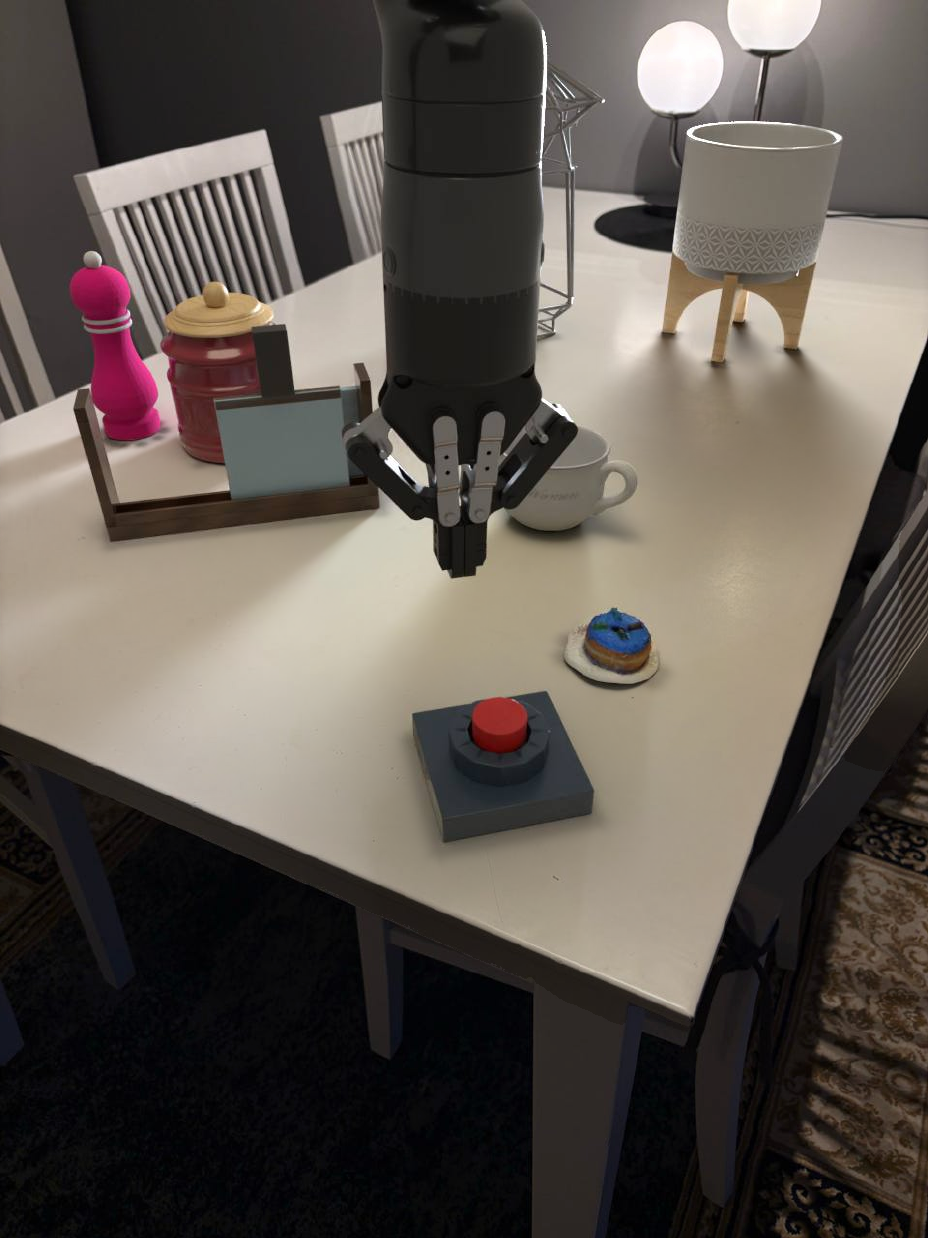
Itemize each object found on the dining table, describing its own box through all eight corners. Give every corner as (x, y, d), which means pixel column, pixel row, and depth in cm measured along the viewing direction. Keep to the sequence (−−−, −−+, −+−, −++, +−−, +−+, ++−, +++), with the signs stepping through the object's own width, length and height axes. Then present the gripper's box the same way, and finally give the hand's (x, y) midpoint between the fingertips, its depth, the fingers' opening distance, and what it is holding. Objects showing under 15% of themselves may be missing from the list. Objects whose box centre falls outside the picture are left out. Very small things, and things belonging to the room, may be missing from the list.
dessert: (679, 675, 69) (641, 627, 66) (608, 722, 71) (567, 677, 68) (646, 619, 76) (609, 573, 73) (581, 663, 77) (543, 620, 74)
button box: (443, 842, 58) (441, 800, 55) (412, 735, 65) (410, 693, 63) (592, 813, 60) (597, 770, 57) (545, 712, 67) (548, 671, 65)
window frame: (110, 541, 87) (72, 408, 79) (113, 518, 90) (77, 389, 82) (379, 507, 92) (370, 379, 83) (372, 487, 95) (363, 362, 87)
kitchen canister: (315, 448, 102) (296, 288, 92) (202, 476, 97) (169, 310, 86) (272, 407, 111) (251, 257, 101) (167, 431, 106) (133, 276, 95)
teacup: (472, 516, 90) (472, 442, 85) (541, 478, 96) (545, 407, 92) (585, 569, 82) (592, 491, 78) (652, 524, 89) (663, 449, 84)
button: (479, 758, 59) (479, 738, 58) (466, 721, 61) (466, 701, 60) (533, 748, 59) (534, 729, 58) (517, 712, 62) (518, 693, 61)
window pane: (233, 509, 88) (202, 336, 78) (232, 501, 90) (201, 330, 79) (351, 495, 90) (335, 325, 80) (348, 487, 92) (333, 319, 81)
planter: (647, 352, 125) (672, 142, 110) (676, 310, 139) (702, 118, 124) (789, 371, 119) (836, 152, 104) (804, 325, 133) (848, 126, 118)
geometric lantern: (500, 357, 124) (505, 57, 103) (444, 323, 135) (439, 45, 114) (593, 336, 130) (616, 49, 109) (532, 305, 141) (543, 39, 120)
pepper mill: (89, 440, 104) (40, 259, 92) (119, 414, 110) (75, 240, 98) (149, 444, 103) (106, 262, 91) (175, 418, 109) (138, 243, 97)
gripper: (568, 237, 47) (547, 525, 58) (313, 251, 45) (338, 549, 55) (622, 280, 41) (587, 591, 52) (331, 299, 39) (356, 622, 49)
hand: (459, 569), depth 53 cm, fingers closed
